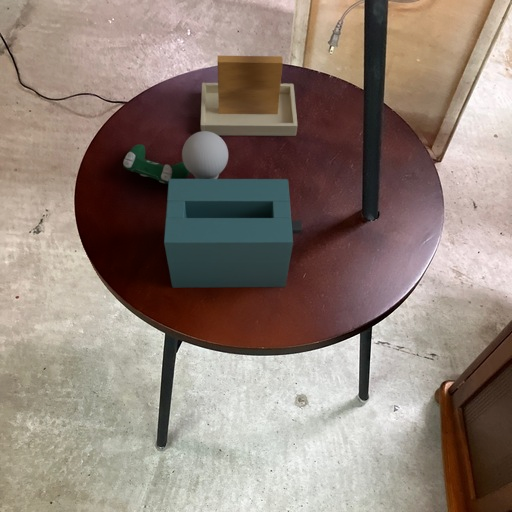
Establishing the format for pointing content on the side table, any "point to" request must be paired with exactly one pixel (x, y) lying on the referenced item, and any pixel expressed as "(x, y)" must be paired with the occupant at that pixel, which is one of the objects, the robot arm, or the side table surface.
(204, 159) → the light bulb
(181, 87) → the side table surface
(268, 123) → the tray
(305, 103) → the side table surface
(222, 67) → the toast
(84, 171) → the side table surface
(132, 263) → the side table surface
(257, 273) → the toaster
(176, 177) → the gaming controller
